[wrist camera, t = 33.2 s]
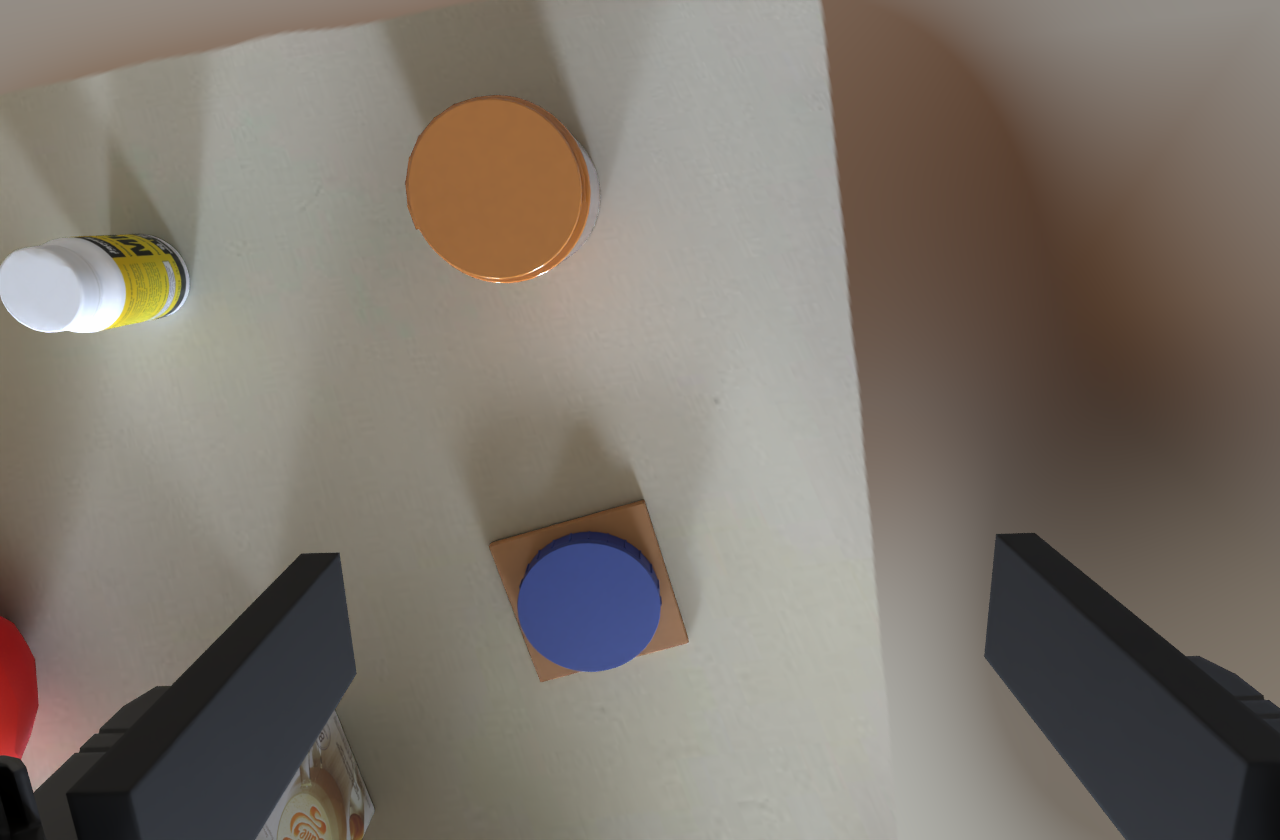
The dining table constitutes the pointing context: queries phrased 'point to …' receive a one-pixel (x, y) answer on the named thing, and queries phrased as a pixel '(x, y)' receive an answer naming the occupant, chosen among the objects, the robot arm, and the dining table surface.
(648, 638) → the lid
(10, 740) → the tomato
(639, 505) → the coaster
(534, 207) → the jar
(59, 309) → the supplement bottle
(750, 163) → the dining table surface
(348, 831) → the coffee box
